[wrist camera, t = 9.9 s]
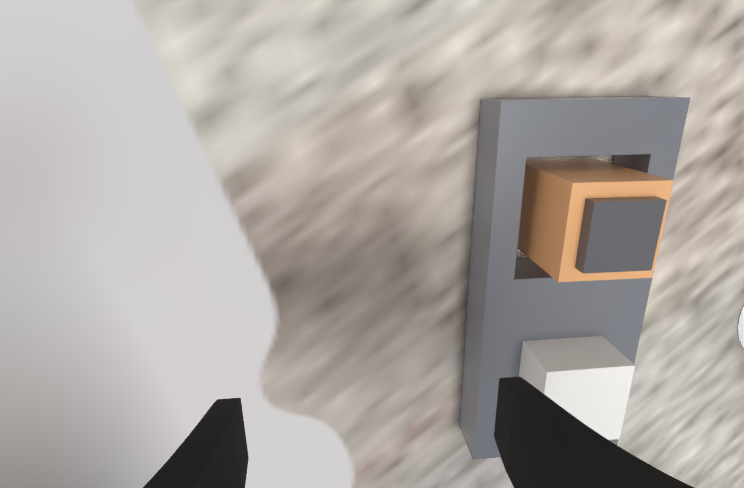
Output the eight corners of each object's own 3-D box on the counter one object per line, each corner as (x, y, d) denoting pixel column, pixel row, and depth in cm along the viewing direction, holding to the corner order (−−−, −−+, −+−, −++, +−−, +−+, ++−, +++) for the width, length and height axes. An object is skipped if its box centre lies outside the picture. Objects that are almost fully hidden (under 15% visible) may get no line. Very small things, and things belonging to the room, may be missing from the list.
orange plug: (585, 238, 23) (662, 283, 18) (509, 241, 23) (565, 288, 17) (598, 159, 22) (685, 183, 17) (517, 161, 21) (581, 186, 16)
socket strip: (584, 447, 28) (638, 521, 23) (457, 459, 27) (485, 538, 22) (649, 96, 21) (743, 99, 16) (480, 98, 20) (528, 103, 16)
